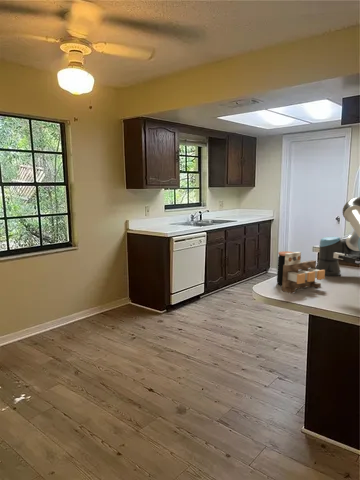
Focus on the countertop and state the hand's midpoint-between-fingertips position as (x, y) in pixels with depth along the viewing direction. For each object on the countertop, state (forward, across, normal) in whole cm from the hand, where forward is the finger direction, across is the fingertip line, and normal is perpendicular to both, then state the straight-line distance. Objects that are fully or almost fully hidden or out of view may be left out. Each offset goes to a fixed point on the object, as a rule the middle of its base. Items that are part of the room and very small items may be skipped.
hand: (334, 255), depth 183 cm
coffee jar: (+23, -8, -20) cm, 32 cm away
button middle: (+11, -8, -14) cm, 20 cm away
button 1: (+11, -16, -14) cm, 24 cm away
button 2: (+11, 0, -14) cm, 18 cm away
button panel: (+13, -8, -20) cm, 25 cm away
